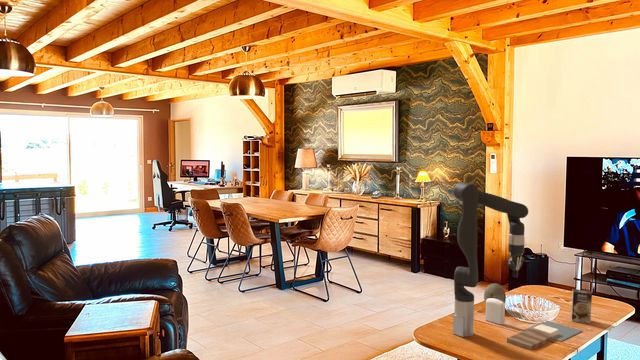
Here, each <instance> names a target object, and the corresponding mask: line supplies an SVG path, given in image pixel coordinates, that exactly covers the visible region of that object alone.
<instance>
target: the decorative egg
mask: <svg viewBox="0 0 640 360" xmlns="http://www.w3.org/2000/svg"><path fill="white" fill-rule="evenodd" d="M489 298H495V299H498V300H501V301H502V302H504V303H506V293H505V289H504V288H503V286H502V285H501V284H499V283H496V282H494V283H493V282H492V283H490V284H488V285H487V286H486V287H485V289H484V292H483V301H484V304H486V300H487V299H489Z"/></svg>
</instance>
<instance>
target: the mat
mask: <svg viewBox="0 0 640 360" xmlns="http://www.w3.org/2000/svg"><path fill="white" fill-rule="evenodd" d="M545 321H546V320H545ZM541 324H542V325H545V326H549V327H552V328H556V329H559V333H558V335H556V336H554V337H553V340H554V341H558V342H560V343H562V342H563V341H565V340H567V339H569V338H571V337H574V336H576V335H578V334H580V333H582V332H583V330H581V329H578V328H575V327H572V326H569V325H564V324H562V323H561V324H560V323H558V322H554V321H550V320H547V321H546V322H543V321H541V322H538V323H536V324H534V325H531V326H529V327H526V328H524V329H523V331H525V330H528V329H532V330H533V327H536V326H538V325H541Z"/></svg>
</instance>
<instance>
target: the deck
mask: <svg viewBox="0 0 640 360" xmlns="http://www.w3.org/2000/svg"><path fill="white" fill-rule="evenodd" d="M553 340H554V339H553V336H551V335H548V334H545V333H542V332H538V331H535V330H532V329H528V330H523V331H521V332H519V333H516V334H514V335H511V336H509V337H507V338H506V343H508V344H511V345H514V346H517V347H520V348H523V349H526V350H529V351H533V350H535V349H536V348H539V347H541V346H543V345H545V344H547V343H550V342H551V341H553Z"/></svg>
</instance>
